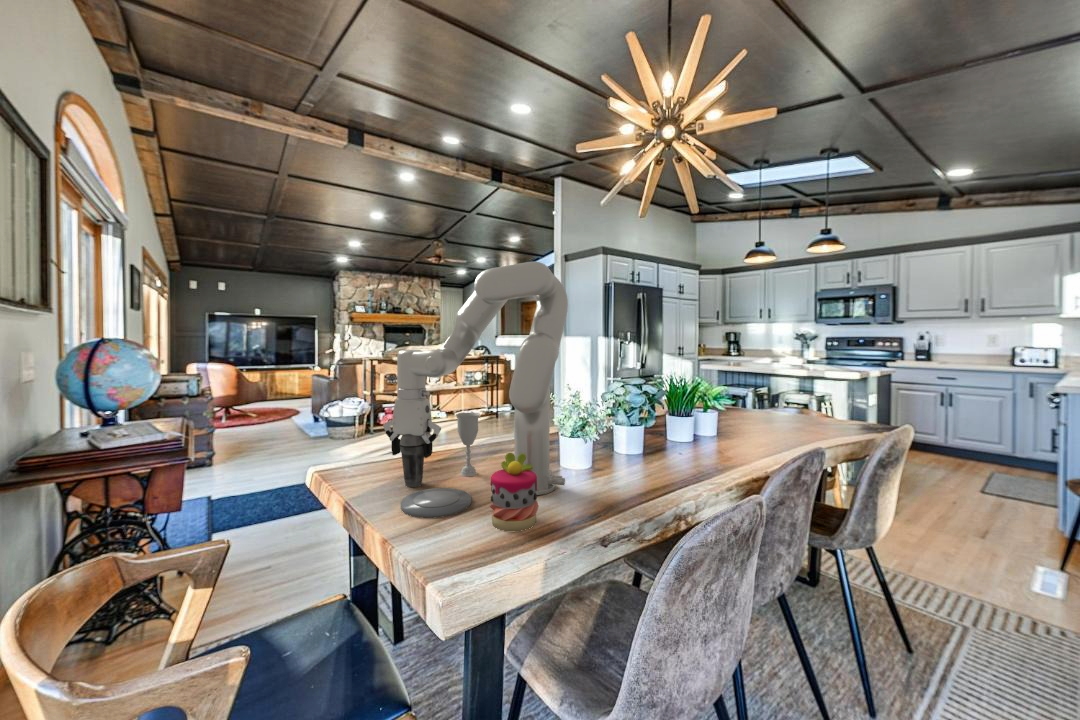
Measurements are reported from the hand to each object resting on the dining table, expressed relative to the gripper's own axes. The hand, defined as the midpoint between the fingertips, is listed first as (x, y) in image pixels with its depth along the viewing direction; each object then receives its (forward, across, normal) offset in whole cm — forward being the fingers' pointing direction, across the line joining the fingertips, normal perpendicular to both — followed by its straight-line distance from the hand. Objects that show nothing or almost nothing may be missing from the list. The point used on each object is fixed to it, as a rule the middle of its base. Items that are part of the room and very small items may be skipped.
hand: (411, 455), depth 129 cm
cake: (+8, -36, +18) cm, 41 cm away
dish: (+8, -14, +12) cm, 20 cm away
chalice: (+8, -12, -13) cm, 19 cm away
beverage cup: (+8, 0, 0) cm, 9 cm away
